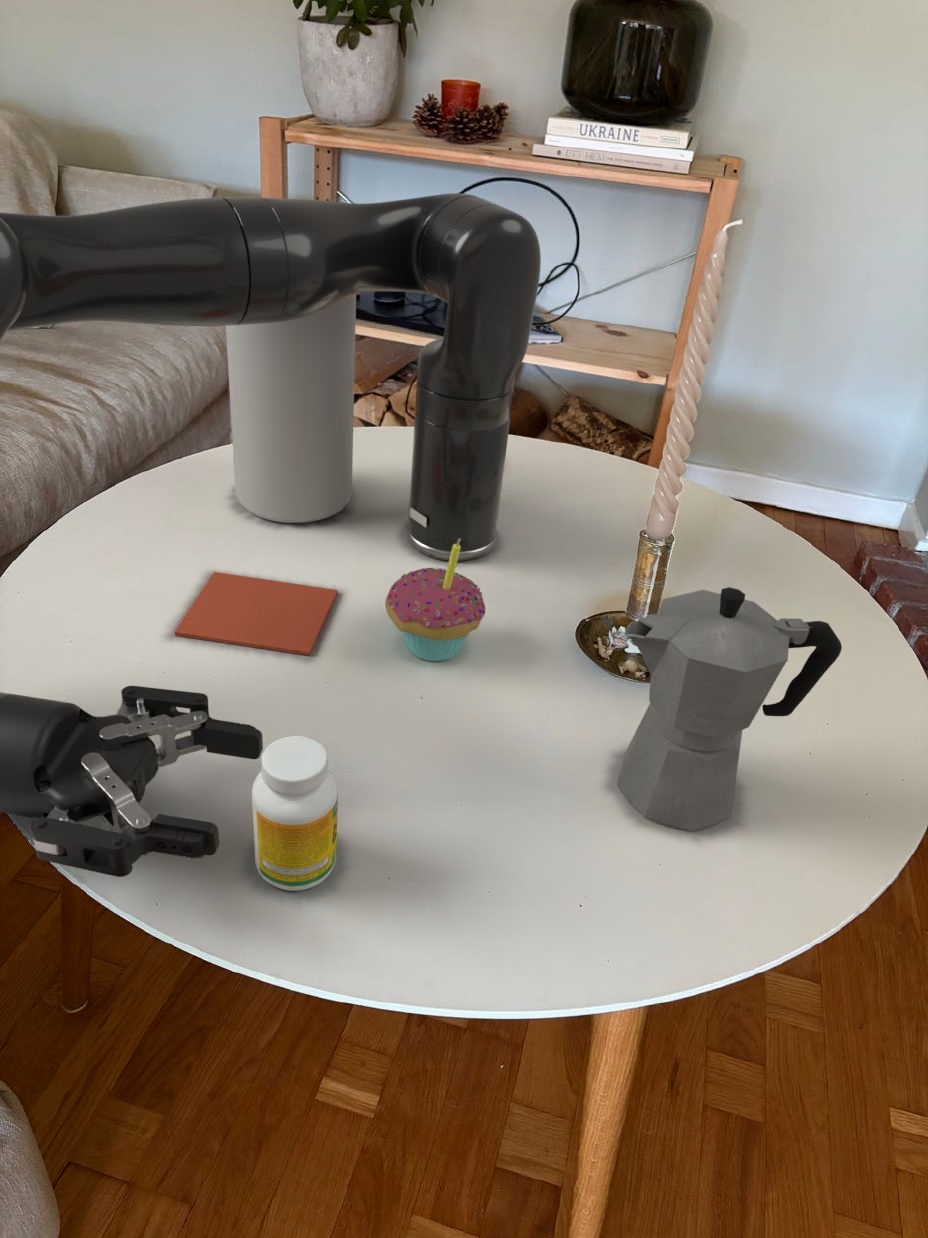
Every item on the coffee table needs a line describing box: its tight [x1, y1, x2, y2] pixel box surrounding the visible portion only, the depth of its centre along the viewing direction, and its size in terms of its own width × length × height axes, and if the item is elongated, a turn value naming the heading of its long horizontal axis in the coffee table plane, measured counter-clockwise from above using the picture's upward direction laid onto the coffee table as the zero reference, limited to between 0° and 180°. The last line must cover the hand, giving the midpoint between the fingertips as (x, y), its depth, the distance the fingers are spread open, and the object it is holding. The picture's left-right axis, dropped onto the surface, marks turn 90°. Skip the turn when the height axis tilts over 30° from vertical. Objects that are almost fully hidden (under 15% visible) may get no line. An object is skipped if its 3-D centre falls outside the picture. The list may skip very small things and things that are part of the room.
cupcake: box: [384, 539, 487, 662], centre depth 82 cm, size 9×8×12 cm
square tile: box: [174, 571, 338, 657], centre depth 87 cm, size 10×12×1 cm
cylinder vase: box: [225, 294, 357, 524], centre depth 98 cm, size 12×12×25 cm
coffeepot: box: [616, 586, 843, 832], centre depth 68 cm, size 15×9×18 cm, turn 95°
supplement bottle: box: [251, 735, 339, 892], centre depth 61 cm, size 5×5×10 cm
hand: (240, 789), depth 61 cm, fingers open, 8 cm apart
